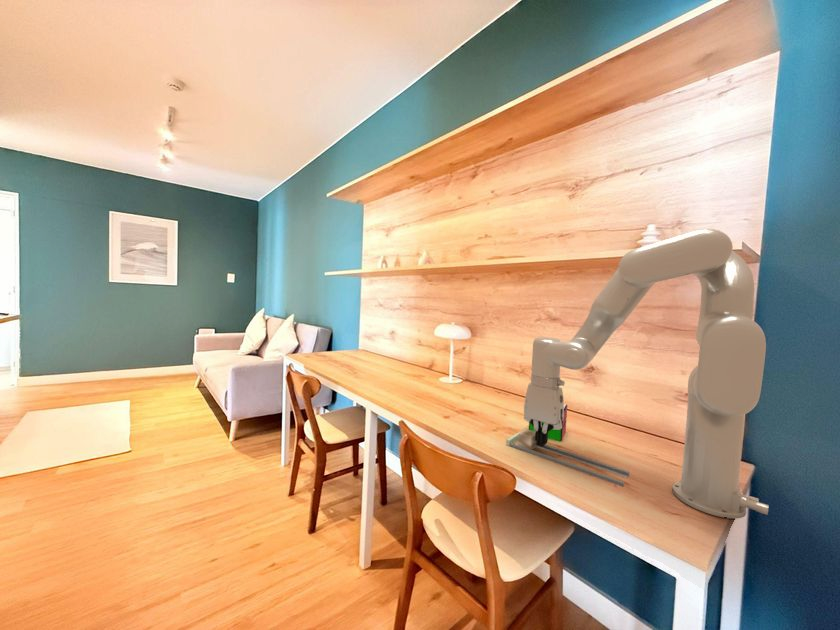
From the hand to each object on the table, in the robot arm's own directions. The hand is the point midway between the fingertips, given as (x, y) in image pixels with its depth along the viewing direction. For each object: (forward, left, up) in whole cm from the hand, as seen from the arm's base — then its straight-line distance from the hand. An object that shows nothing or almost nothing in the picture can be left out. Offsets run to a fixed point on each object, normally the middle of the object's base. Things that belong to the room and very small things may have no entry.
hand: (541, 444), depth 95 cm
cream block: (+4, 0, -2) cm, 4 cm away
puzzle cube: (+4, -15, -3) cm, 16 cm away
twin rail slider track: (-6, 0, -3) cm, 7 cm away
